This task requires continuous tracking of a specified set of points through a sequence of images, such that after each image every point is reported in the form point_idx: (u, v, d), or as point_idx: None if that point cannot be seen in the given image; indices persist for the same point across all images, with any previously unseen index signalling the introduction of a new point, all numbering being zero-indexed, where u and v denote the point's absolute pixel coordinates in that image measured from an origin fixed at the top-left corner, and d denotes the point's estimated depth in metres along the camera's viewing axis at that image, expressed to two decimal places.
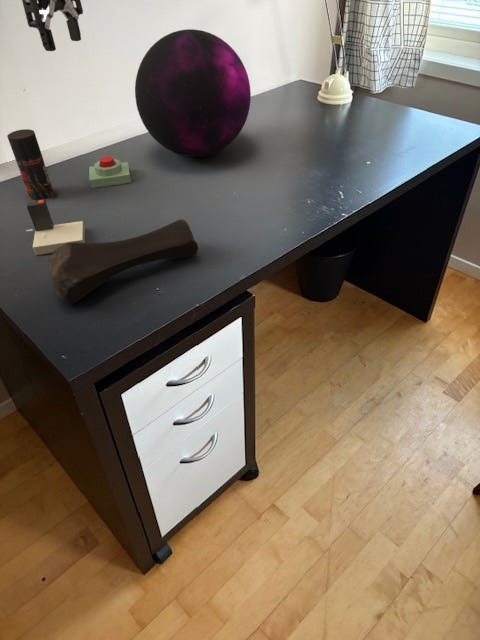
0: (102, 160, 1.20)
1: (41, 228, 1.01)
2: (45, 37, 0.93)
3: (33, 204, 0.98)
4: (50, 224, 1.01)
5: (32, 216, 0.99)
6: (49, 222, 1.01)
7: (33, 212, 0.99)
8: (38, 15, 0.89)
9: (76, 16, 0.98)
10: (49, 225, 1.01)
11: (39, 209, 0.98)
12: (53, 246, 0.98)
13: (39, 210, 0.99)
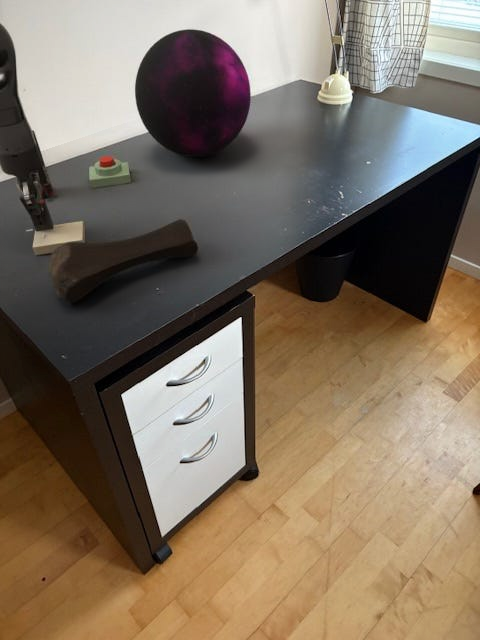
0: (102, 160, 1.20)
1: (41, 228, 1.01)
2: (41, 218, 0.99)
3: None
4: (50, 224, 1.01)
5: (32, 216, 0.99)
6: (49, 222, 1.01)
7: None
8: (39, 206, 0.95)
9: None
10: (49, 224, 1.01)
11: None
12: (53, 246, 0.98)
13: None
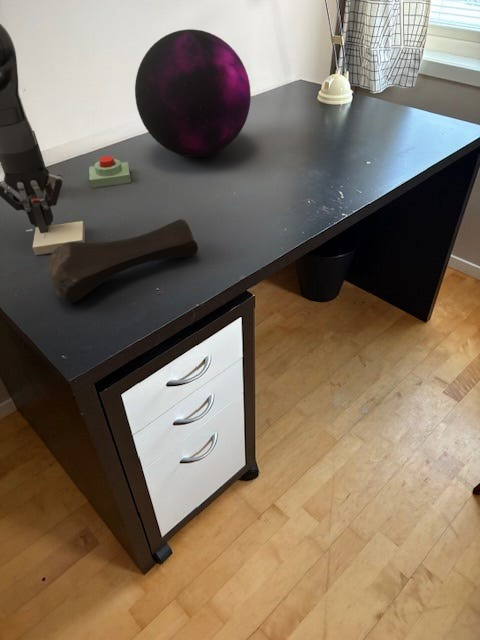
0: (102, 160, 1.20)
1: (47, 226, 1.02)
2: None
3: (37, 203, 0.98)
4: None
5: (43, 216, 0.99)
6: None
7: (42, 211, 0.99)
8: None
9: None
10: None
11: (41, 206, 0.99)
12: (53, 246, 0.98)
13: None
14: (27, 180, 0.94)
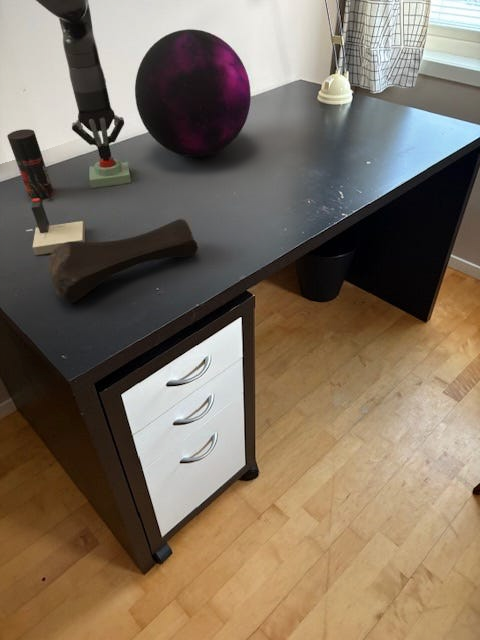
0: (102, 160, 1.20)
1: (47, 226, 1.02)
2: (109, 148, 1.19)
3: (37, 203, 0.98)
4: (47, 219, 1.03)
5: (43, 216, 0.99)
6: (46, 217, 1.02)
7: (42, 211, 0.99)
8: None
9: None
10: (47, 220, 1.03)
11: (41, 206, 0.99)
12: (53, 246, 0.98)
13: (42, 207, 1.00)
14: (97, 118, 1.13)
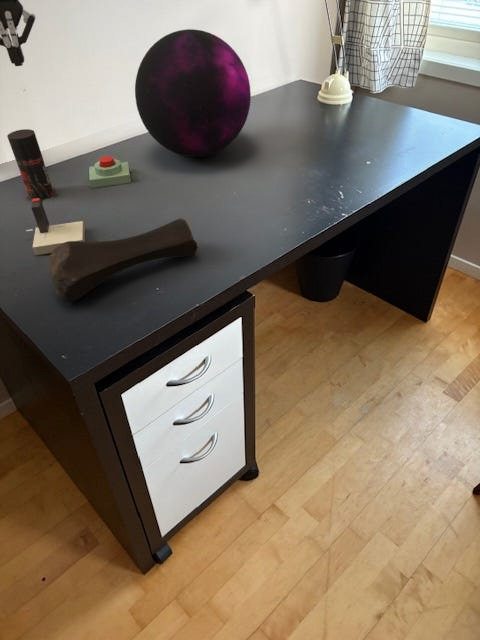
0: (102, 160, 1.20)
1: (47, 226, 1.02)
2: None
3: (37, 203, 0.98)
4: (47, 219, 1.03)
5: (43, 216, 0.99)
6: (46, 217, 1.02)
7: (42, 211, 0.99)
8: None
9: None
10: (47, 220, 1.03)
11: (41, 206, 0.99)
12: (53, 246, 0.98)
13: (42, 207, 1.00)
14: (2, 11, 1.00)
